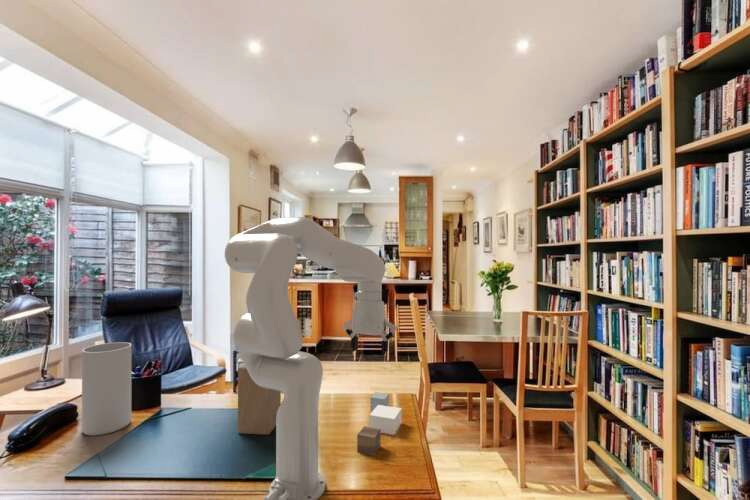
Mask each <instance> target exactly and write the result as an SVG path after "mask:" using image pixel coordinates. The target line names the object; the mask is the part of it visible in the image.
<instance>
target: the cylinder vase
mask: <svg viewBox="0 0 750 500" xmlns="http://www.w3.org/2000/svg"><path fill="white" fill-rule="evenodd" d="M132 349H133V348H132V343H131V342H126V341H125V342H124V341H123V342H121V341H119V342H107V343H100V344H99V343H98V344H95V345H91V346H87V347H85V348H83V349H82V351H81V353H82V354H81V374H82V375H81V432H82V433H83V434H84V435H87V436H92V437H93V436H104V435H106V434H112V433H114V432H117V431H120V430H122V429H123V428H126V427H127V426H128V425H129V424H130V423H131V421H132V358H133V357H132V351H133V350H132Z"/></svg>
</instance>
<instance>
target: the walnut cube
mask: <svg viewBox="0 0 750 500" xmlns="http://www.w3.org/2000/svg"><path fill="white" fill-rule="evenodd" d="M356 437H357V438H356V439H357V441H356V443H357V444H356V445H357V446H356V448H357V449H356V450H357V451H356V452H357V453H358V454H359V453H360V454H363V455H368V456H373V457H374V456H376V454H377V453H378V452H379V450H380V449H381V447H382V443H381V442H382V441H381V440H382V433H381V429H377V428H371V427H369V426H363V427H362V429H360V430H359V432H358V433H357V434H356Z"/></svg>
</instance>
